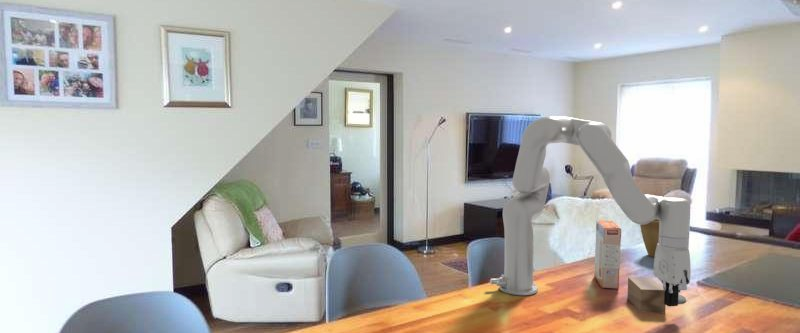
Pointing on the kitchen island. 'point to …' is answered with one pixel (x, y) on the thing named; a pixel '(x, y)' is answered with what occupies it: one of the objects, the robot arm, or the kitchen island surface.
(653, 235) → the plant pot
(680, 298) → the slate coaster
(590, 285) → the kitchen island surface
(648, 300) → the brown block
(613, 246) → the cracker box
